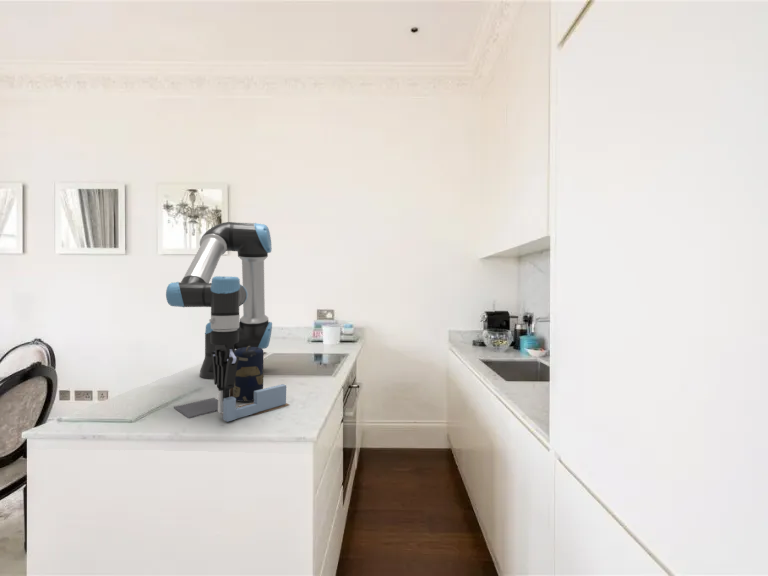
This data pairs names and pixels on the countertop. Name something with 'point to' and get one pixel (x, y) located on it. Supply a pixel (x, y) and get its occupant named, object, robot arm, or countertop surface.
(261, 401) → the tie jaw
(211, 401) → the mat
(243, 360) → the canister
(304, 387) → the countertop surface
